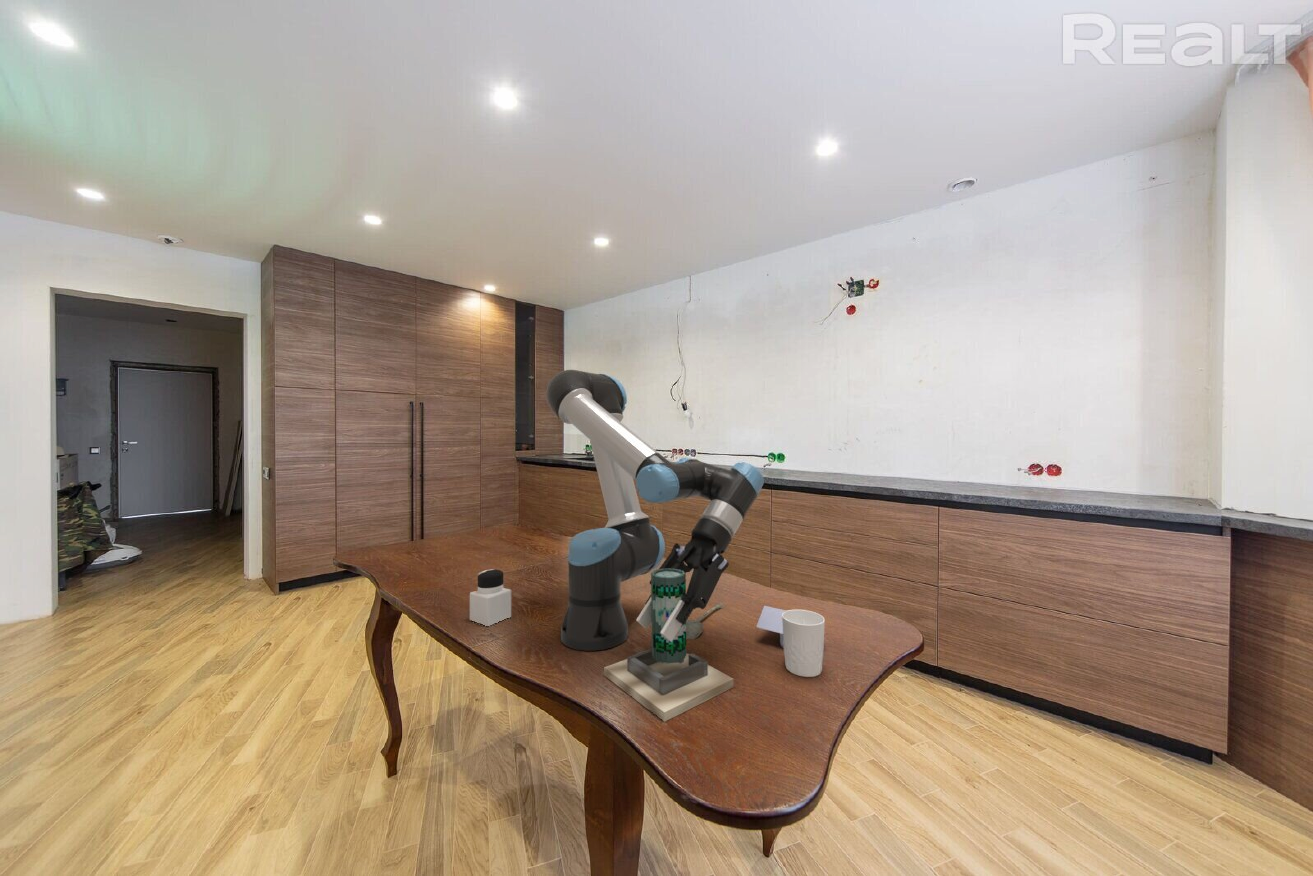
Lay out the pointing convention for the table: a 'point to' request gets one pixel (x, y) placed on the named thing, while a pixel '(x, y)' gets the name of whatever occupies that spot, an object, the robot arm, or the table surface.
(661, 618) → the can
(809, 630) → the white cup
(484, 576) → the medicine bottle
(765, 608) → the wedge on round base
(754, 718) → the table surface
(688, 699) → the board with grey rim
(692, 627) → the soupspoon
